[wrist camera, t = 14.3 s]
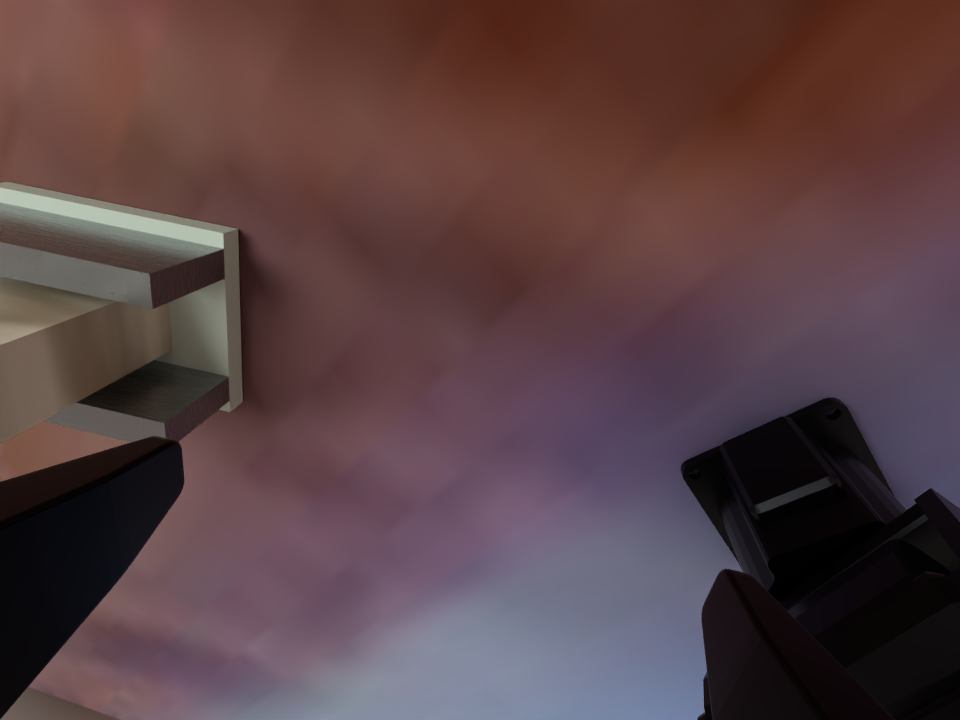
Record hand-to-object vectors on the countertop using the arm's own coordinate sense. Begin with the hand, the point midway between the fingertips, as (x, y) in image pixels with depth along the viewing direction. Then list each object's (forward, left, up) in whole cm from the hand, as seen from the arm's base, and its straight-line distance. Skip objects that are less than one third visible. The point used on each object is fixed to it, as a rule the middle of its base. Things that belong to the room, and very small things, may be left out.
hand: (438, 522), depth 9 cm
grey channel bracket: (+9, +14, -13) cm, 21 cm away
